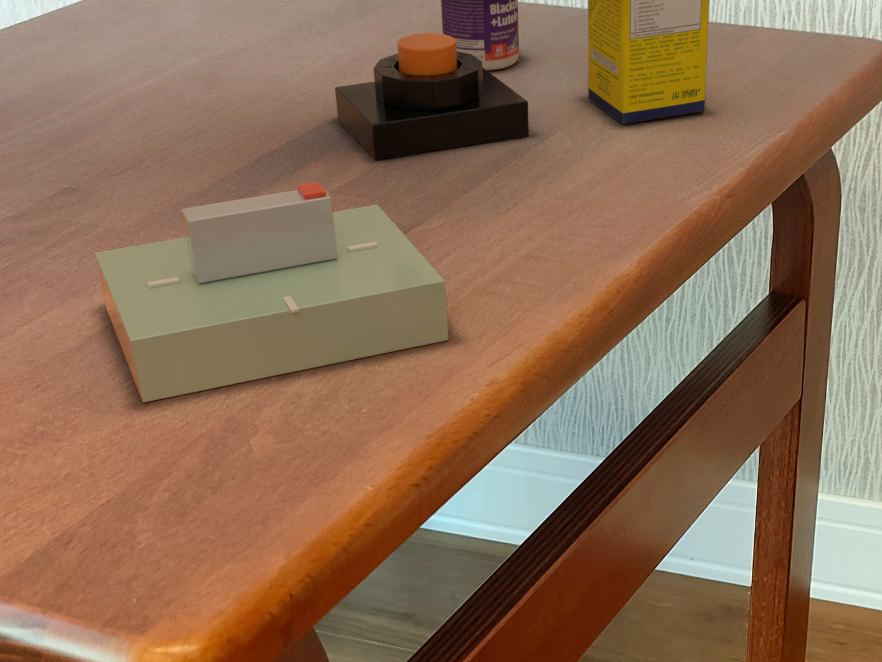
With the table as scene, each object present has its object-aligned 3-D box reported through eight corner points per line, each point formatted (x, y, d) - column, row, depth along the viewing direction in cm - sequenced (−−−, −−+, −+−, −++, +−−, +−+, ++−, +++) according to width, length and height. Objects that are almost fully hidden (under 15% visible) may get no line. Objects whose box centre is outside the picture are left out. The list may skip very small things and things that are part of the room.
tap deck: (144, 406, 60) (130, 340, 58) (105, 307, 68) (92, 246, 66) (451, 343, 64) (447, 280, 63) (380, 257, 72) (375, 198, 71)
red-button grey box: (198, 284, 63) (186, 215, 61) (191, 270, 64) (179, 203, 62) (338, 259, 65) (331, 191, 63) (328, 246, 66) (321, 180, 64)
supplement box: (666, 87, 95) (672, -87, 88) (706, 114, 90) (715, -68, 84) (584, 99, 93) (585, -78, 87) (621, 126, 88) (624, -58, 82)
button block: (375, 160, 84) (369, 94, 82) (337, 121, 90) (331, 57, 88) (529, 136, 87) (527, 71, 85) (483, 99, 93) (480, 37, 91)
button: (409, 82, 85) (408, 52, 84) (391, 66, 87) (389, 37, 86) (465, 74, 86) (464, 44, 85) (445, 58, 88) (444, 30, 87)
